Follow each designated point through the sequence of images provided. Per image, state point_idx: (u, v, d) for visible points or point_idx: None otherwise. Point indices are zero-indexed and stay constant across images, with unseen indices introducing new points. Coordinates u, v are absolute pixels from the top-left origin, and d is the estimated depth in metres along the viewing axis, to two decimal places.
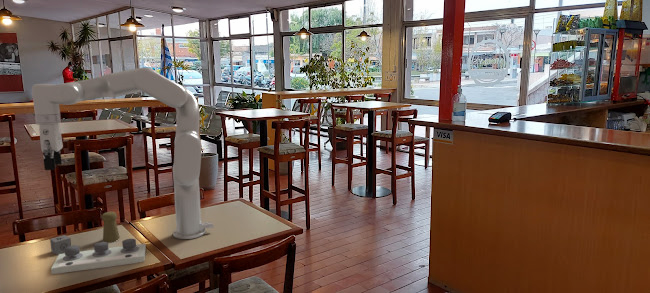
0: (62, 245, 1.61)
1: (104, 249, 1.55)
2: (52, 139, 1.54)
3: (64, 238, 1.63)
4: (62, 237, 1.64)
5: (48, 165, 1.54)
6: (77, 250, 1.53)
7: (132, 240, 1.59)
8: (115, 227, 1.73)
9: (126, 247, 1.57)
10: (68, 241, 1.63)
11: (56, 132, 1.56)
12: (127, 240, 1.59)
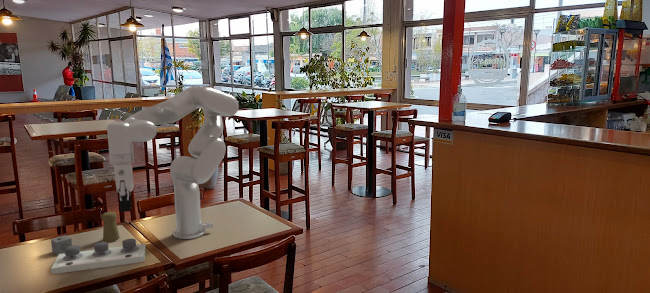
0: (63, 245, 1.61)
1: (104, 249, 1.55)
2: (127, 179, 1.51)
3: (65, 238, 1.62)
4: (63, 237, 1.63)
5: (124, 207, 1.53)
6: (77, 250, 1.53)
7: (132, 240, 1.59)
8: (115, 227, 1.73)
9: (126, 247, 1.57)
10: (69, 241, 1.62)
11: (130, 171, 1.53)
12: (127, 240, 1.59)
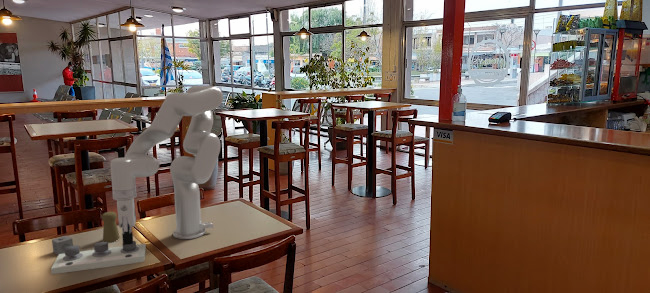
0: (64, 246, 1.61)
1: (104, 249, 1.55)
2: (130, 215, 1.53)
3: (66, 239, 1.62)
4: (64, 238, 1.63)
5: (126, 240, 1.57)
6: (77, 250, 1.53)
7: (133, 242, 1.59)
8: (115, 227, 1.73)
9: (126, 249, 1.57)
10: (70, 242, 1.62)
11: (133, 207, 1.55)
12: None
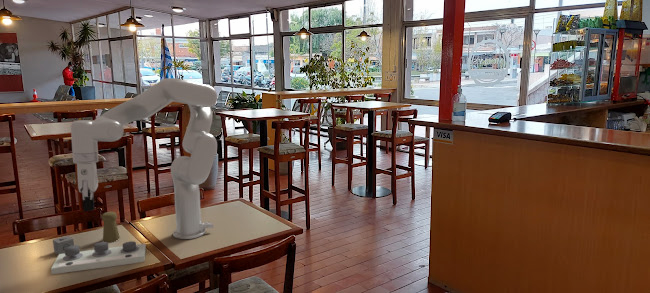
0: (65, 246, 1.60)
1: (104, 249, 1.55)
2: (90, 179, 1.47)
3: (67, 239, 1.62)
4: (65, 238, 1.63)
5: (87, 206, 1.51)
6: (77, 250, 1.53)
7: (133, 243, 1.59)
8: (115, 227, 1.73)
9: (126, 250, 1.57)
10: (71, 242, 1.62)
11: (94, 171, 1.49)
12: (127, 243, 1.60)
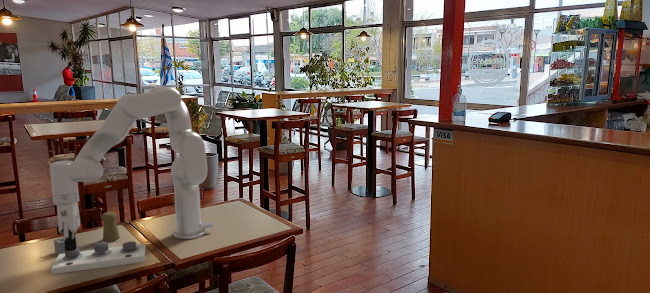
0: None
1: (104, 249, 1.55)
2: (70, 220, 1.47)
3: None
4: None
5: (69, 246, 1.51)
6: (77, 252, 1.53)
7: (133, 243, 1.59)
8: (115, 227, 1.73)
9: (126, 250, 1.57)
10: None
11: (74, 212, 1.49)
12: (127, 243, 1.60)
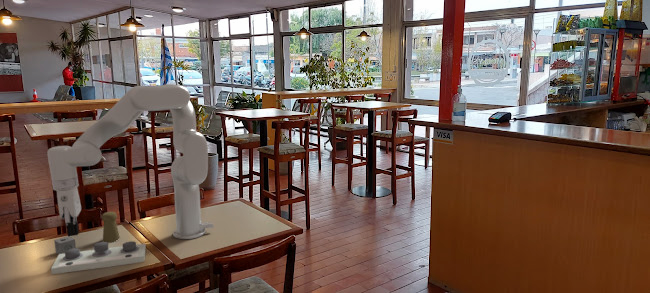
0: (66, 246, 1.60)
1: (104, 249, 1.55)
2: (71, 205, 1.47)
3: (68, 239, 1.62)
4: (66, 238, 1.63)
5: (71, 231, 1.51)
6: (77, 253, 1.53)
7: (133, 243, 1.59)
8: (115, 227, 1.73)
9: (126, 250, 1.57)
10: (72, 242, 1.62)
11: (74, 197, 1.48)
12: (127, 243, 1.60)
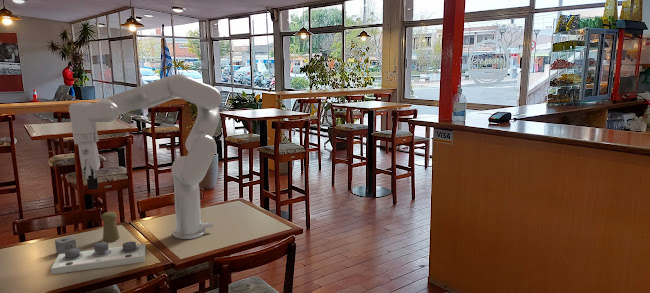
0: (67, 246, 1.60)
1: (104, 249, 1.55)
2: (92, 159, 1.53)
3: (69, 239, 1.62)
4: (67, 238, 1.62)
5: (91, 185, 1.57)
6: (77, 253, 1.53)
7: (133, 243, 1.59)
8: (115, 227, 1.73)
9: (126, 250, 1.57)
10: (73, 242, 1.61)
11: (95, 151, 1.55)
12: (127, 243, 1.60)
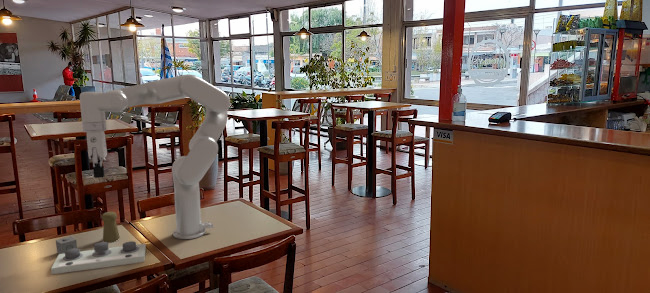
0: (68, 247, 1.60)
1: (104, 249, 1.55)
2: (99, 147, 1.56)
3: (70, 239, 1.61)
4: (68, 238, 1.62)
5: (97, 173, 1.60)
6: (77, 253, 1.53)
7: (133, 243, 1.59)
8: (115, 227, 1.73)
9: (126, 250, 1.57)
10: (74, 243, 1.61)
11: (103, 139, 1.58)
12: (127, 243, 1.60)
